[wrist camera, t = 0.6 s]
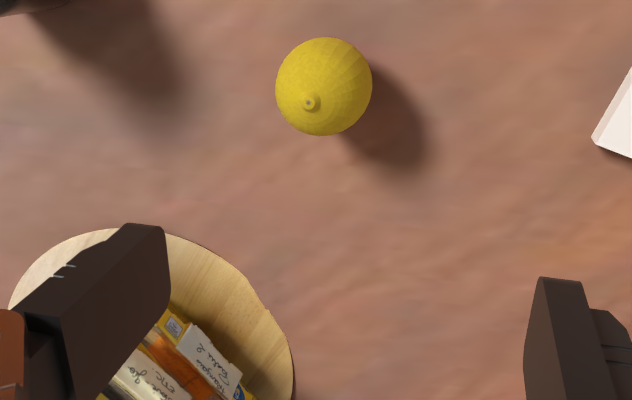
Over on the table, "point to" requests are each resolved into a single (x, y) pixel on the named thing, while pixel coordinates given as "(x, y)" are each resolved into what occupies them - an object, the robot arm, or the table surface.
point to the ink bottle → (27, 6)
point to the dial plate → (617, 121)
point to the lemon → (323, 86)
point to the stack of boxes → (192, 331)
